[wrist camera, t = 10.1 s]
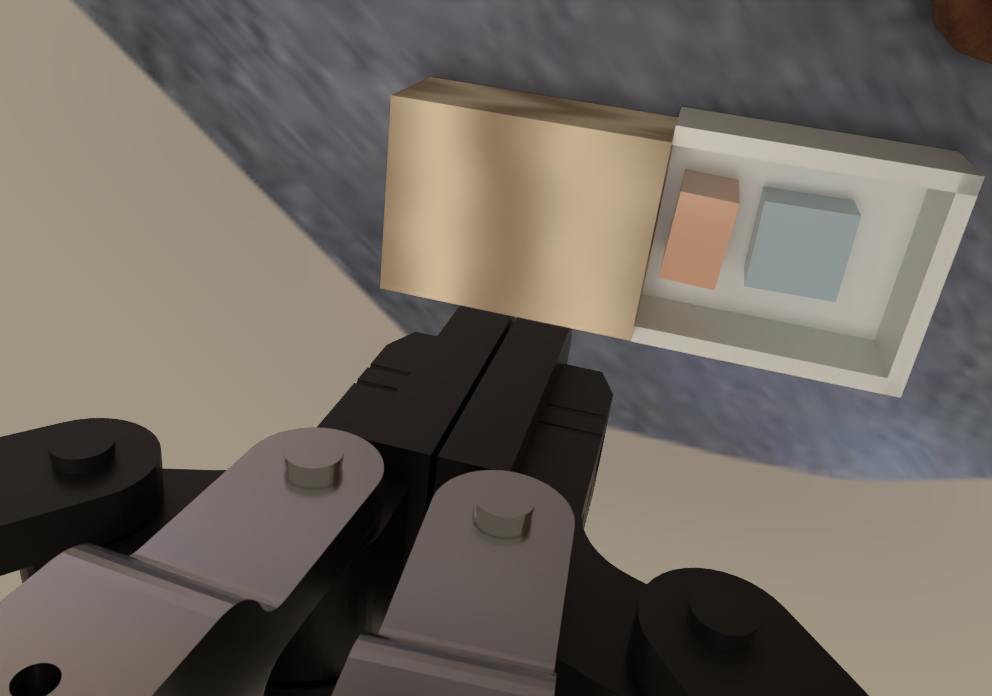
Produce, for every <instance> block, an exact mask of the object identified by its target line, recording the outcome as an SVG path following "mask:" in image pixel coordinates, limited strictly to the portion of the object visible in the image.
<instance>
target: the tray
mask: <svg viewBox="0 0 992 696" xmlns="http://www.w3.org/2000/svg"><path fill="white" fill-rule="evenodd" d="M672 145H673V149H672V154H671V159H670V164H669V169H668V173H667V178H666V183H665V188H664V193H663V197H662V202H661V207H660V212H659V217H658V221H657V226H656V231H655V236H654V241H653V245H652V250H651V255H650V260H649V265H648V269H647V274H646V279H645V284H644V289H643V293H642V298H641V301H640V305H639V309H638V313H637V317H636V321H635V325H634V329H633V334H632V339H631V342H636V343H641V344H646V345H650V346H655V347H660V348H665V349H669V350H674V351H679V352H684V353H689V354H693V355H698V356H703V357H708V358H712V359H717V360H722V361H727V362H732V363H736V364H741V365H746V366H751V367H755V368H760V369H765V370H770V371H775V372H779V373H784V374H789V375H794V376H798V377H803V378H808V379H813V380H818V381H822V382H827V383H832V384H837V385H841V386H846V387H851V388H856V389H861V390H865V391H870V392H875V393H880V394H884V395H889V396H894V397H899V398H901V396H902V393H903V391H904V388H905V385H906V383H907V380H908V378H909V375H910V372H911V370H912V367H913V364H914V362H915V359H916V357H917V354H918V351H919V349H920V346H921V343H922V341H923V338H924V335H925V333H926V330H927V328H928V325H929V322H930V320H931V317H932V314H933V312H934V309H935V307H936V304H937V301H938V299H939V296H940V293H941V291H942V288H943V286H944V283H945V280H946V278H947V275H948V272H949V270H950V267H951V265H952V262H953V259H954V257H955V254H956V251H957V249H958V246H959V244H960V241H961V238H962V236H963V233H964V230H965V228H966V225H967V222H968V220H969V217H970V215H971V212H972V209H973V207H974V204H975V201H976V199H977V196H978V194H979V191H980V188H981V186H982V183H983V180H984V178H985V176H984V175H983V174H982V173H981V172H980V171H978V170H977V169H976V168H975V167H974V166H973V165H972V164H971V163H970V162H969V161H968V160H967V159H966V158H965V157H964V156H963V155H962V154H961V153H960V152H959V151H953V150H947V149H941V148H935V147H929V146H922V145H916V144H910V143H904V142H898V141H891V140H885V139H879V138H873V137H867V136H861V135H854V134H848V133H842V132H836V131H830V130H823V129H817V128H811V127H805V126H799V125H793V124H786V123H780V122H774V121H768V120H762V119H755V118H749V117H743V116H737V115H731V114H724V113H718V112H712V111H706V110H700V109H694V108H687V107H681V110H680V113H679V117H678V120H677V123H676V127H675V132H674V136H673V141H672ZM685 169H688V170H693V171H698V172H703V173H707V174H712V175H717V176H721V177H726V178H731V179H736V180H739V190H740V205H739V208H738V212H737V215H736V219H735V222H734V226H733V229H732V232H731V236H730V239H729V243H728V246H727V249H726V253H725V256H724V260H723V263H722V267H721V270H720V273H719V277H718V280H717V284H716V287H715V290H710V289H706V288H702V287H697V286H693V285H689V284H685V283H680V282H676V281H672V280H667V279H663V278H659V273H660V268H661V264H662V259H663V255H664V250H665V246H666V242H667V238H668V234H669V231H670V227H671V223H672V219H673V215H674V211H675V207H676V203H677V199H678V196H679V192H680V188H681V184H682V180H683V176H684V172H685ZM763 187H770V188H776V189H783V190H789V191H796V192H803V193H809V194H816V195H822V196H829V197H835V198H842V199H848V200H854V202H855V204H856V206H857V208H858V210H859V213H860V215H861V218H860V222H859V225H858V229H857V232H856V235H855V239H854V242H853V245H852V249H851V252H850V256H849V259H848V262H847V266H846V269H845V273H844V276H843V279H842V283H841V286H840V289H839V293H838V296H837V300H836V302H832V301H826V300H820V299H815V298H809V297H803V296H798V295H792V294H786V293H780V292H775V291H769V290H763V289H757V288H752V287H746V286H744V265H745V261H746V257H747V252H748V248H749V244H750V240H751V236H752V231H753V227H754V223H755V219H756V215H757V210H758V206H759V202H760V198H761V194H762V189H763Z"/></svg>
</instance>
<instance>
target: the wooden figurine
mask: <svg viewBox="0 0 992 696" xmlns="http://www.w3.org/2000/svg"><path fill="white" fill-rule="evenodd" d="M933 15H934V26H935V27H936V28H937V29H938V31H939V32H940V33H941V34H942V35H943V36H944V37H945V38H946V40H947V41H948V42H949V43H950V44H951V45H952V46H953V47H954V49H956V50H957V51H959V52H960V53H962V54H965V55H968V56H971V57H974V58H977V59H980V60H982V61H985V62H988V63H991V64H992V0H933Z"/></svg>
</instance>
